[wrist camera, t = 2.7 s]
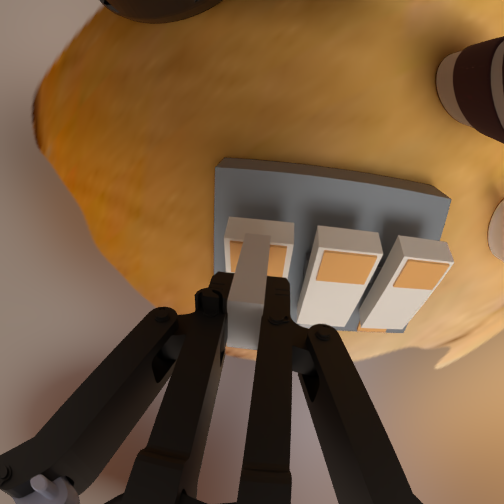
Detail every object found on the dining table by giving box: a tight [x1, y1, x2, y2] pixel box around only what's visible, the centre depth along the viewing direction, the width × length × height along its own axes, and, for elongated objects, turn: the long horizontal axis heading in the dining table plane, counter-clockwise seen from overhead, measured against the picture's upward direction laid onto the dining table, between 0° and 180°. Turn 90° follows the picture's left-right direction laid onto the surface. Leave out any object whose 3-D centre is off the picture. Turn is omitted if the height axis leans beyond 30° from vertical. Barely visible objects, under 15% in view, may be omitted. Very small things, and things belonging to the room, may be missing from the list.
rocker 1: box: [224, 217, 294, 278], centre depth 24 cm, size 10×4×2 cm, turn 179°
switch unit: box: [214, 158, 451, 333], centre depth 27 cm, size 15×20×5 cm
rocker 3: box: [359, 235, 454, 329], centre depth 23 cm, size 10×4×2 cm, turn 179°
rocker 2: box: [297, 225, 383, 327], centre depth 23 cm, size 10×4×2 cm, turn 179°
